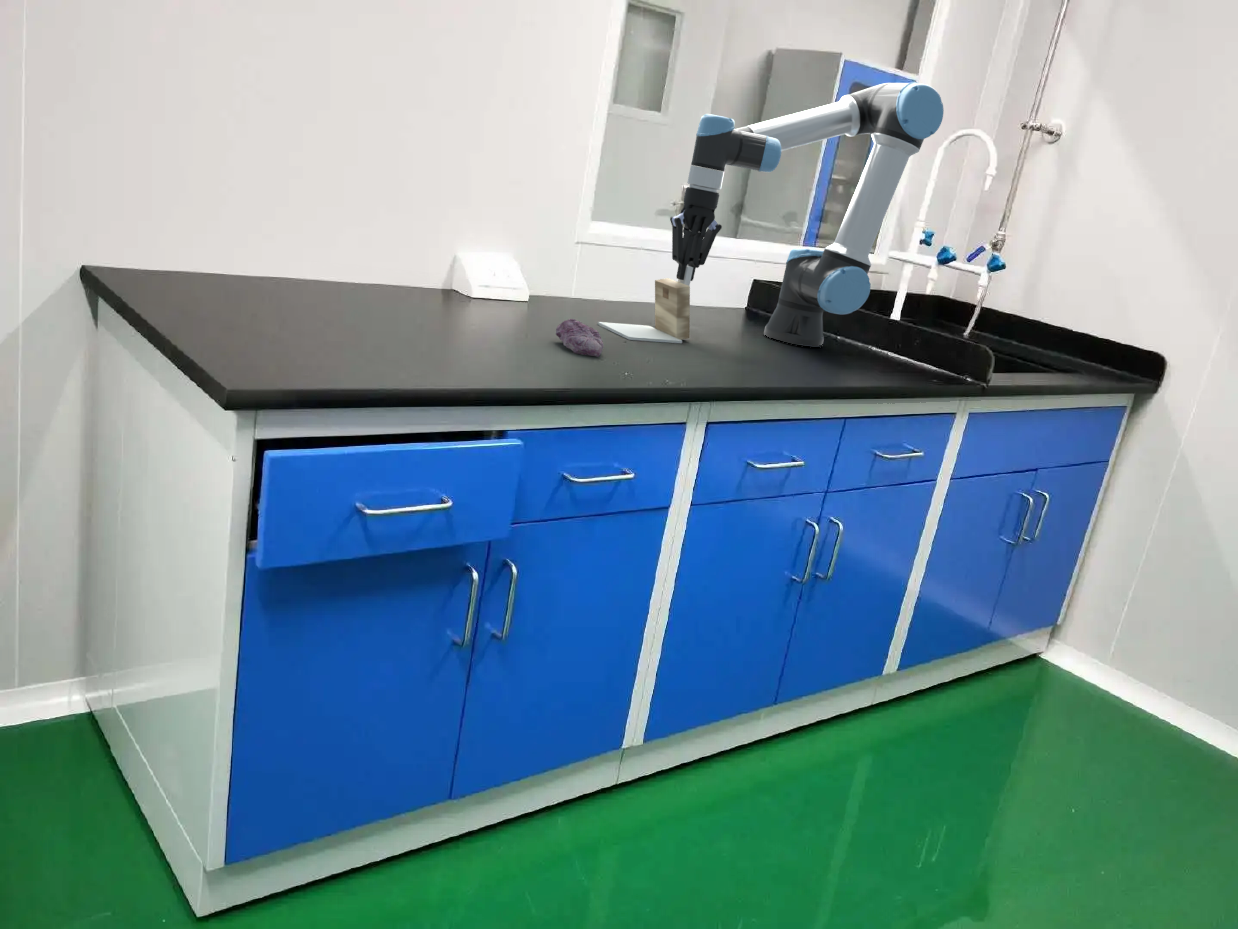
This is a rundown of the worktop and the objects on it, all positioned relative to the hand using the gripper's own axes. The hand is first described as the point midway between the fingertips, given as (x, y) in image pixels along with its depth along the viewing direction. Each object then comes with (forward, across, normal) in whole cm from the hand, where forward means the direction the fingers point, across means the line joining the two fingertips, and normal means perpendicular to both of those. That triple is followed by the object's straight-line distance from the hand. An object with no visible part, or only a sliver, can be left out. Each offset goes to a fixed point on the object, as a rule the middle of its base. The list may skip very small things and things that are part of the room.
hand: (681, 294), depth 229 cm
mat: (+10, +9, 0) cm, 14 cm away
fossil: (+10, +35, +18) cm, 41 cm away
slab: (+9, 0, 0) cm, 9 cm away
